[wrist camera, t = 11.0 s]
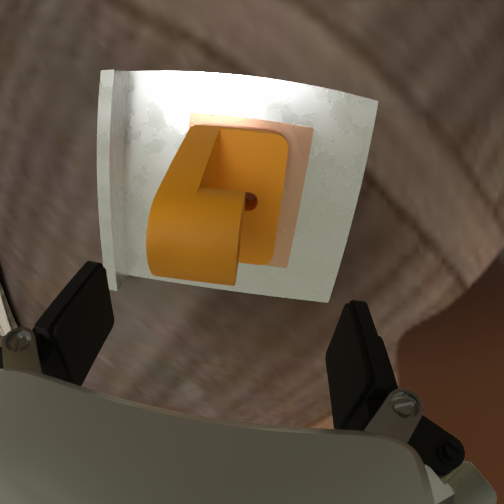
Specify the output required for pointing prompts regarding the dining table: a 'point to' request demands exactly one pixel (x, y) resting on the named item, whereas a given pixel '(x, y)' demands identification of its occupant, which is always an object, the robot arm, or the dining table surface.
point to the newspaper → (5, 315)
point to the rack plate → (293, 197)
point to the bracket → (217, 204)
